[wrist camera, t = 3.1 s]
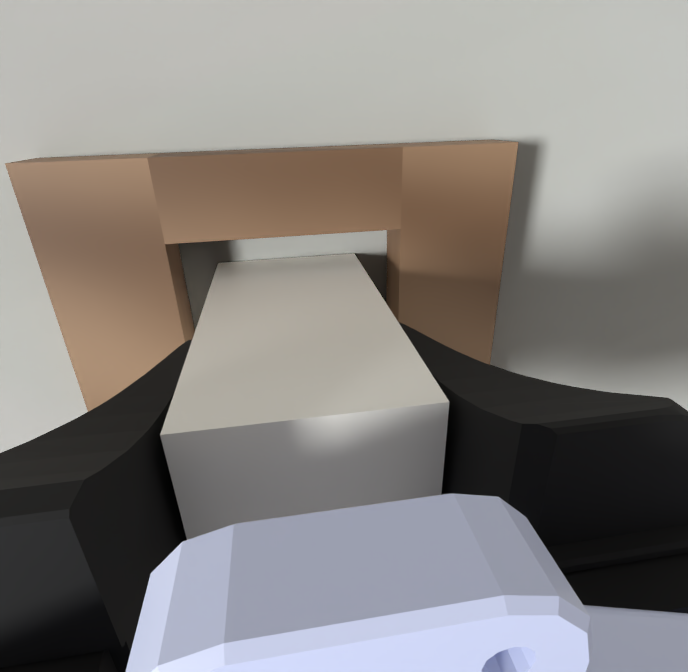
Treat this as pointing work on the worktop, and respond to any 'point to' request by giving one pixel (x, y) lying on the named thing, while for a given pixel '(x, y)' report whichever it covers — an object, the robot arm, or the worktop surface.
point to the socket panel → (260, 236)
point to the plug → (300, 398)
